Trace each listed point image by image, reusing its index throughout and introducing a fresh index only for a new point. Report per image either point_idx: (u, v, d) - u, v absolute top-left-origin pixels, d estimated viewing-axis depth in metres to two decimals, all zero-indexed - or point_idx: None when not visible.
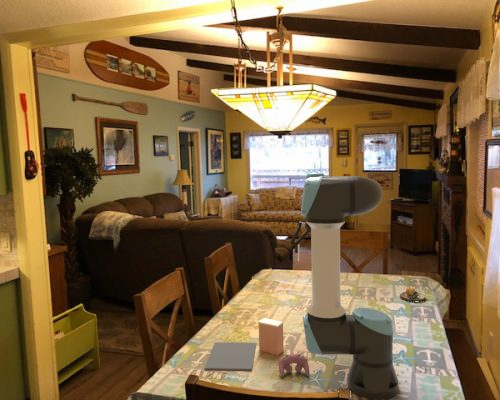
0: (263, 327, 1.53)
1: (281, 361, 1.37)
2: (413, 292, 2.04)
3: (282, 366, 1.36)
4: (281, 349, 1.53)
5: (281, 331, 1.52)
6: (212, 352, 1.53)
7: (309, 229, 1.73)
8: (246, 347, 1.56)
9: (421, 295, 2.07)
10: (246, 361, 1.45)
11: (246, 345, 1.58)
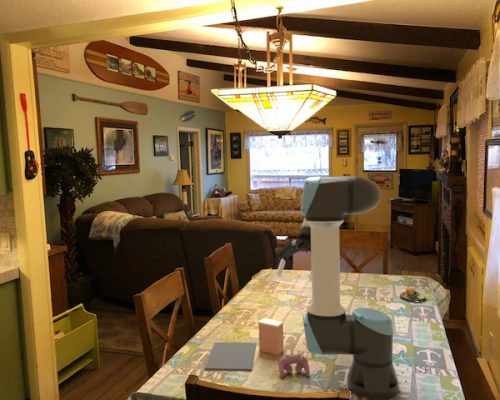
0: (263, 327, 1.53)
1: (281, 361, 1.37)
2: (413, 292, 2.04)
3: (282, 366, 1.36)
4: (281, 349, 1.53)
5: (281, 331, 1.52)
6: (212, 352, 1.53)
7: (297, 244, 1.65)
8: (246, 347, 1.56)
9: (421, 295, 2.07)
10: (246, 361, 1.45)
11: (246, 345, 1.58)
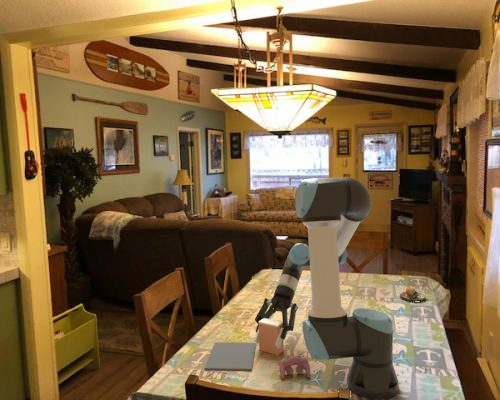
0: (263, 327, 1.53)
1: (282, 363, 1.36)
2: (413, 292, 2.04)
3: (283, 368, 1.35)
4: (281, 349, 1.53)
5: None
6: (212, 352, 1.53)
7: (273, 304, 1.59)
8: (246, 347, 1.56)
9: (421, 295, 2.07)
10: (246, 361, 1.45)
11: (246, 345, 1.58)
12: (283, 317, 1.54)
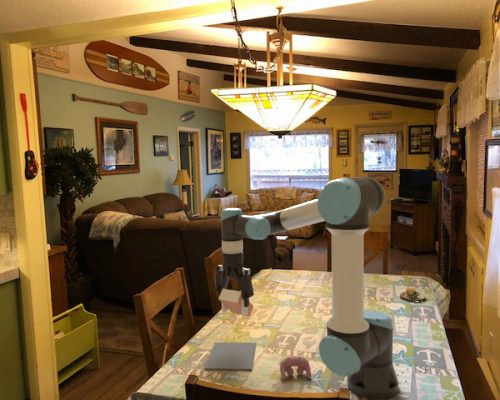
0: (225, 301, 1.50)
1: (282, 364, 1.35)
2: (413, 292, 2.04)
3: (283, 369, 1.34)
4: (250, 308, 1.53)
5: None
6: (212, 352, 1.53)
7: (226, 273, 1.50)
8: (246, 347, 1.56)
9: (421, 295, 2.07)
10: (246, 361, 1.45)
11: (246, 345, 1.58)
12: (240, 286, 1.47)
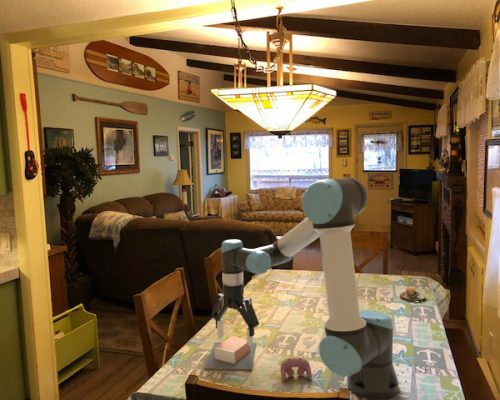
0: None
1: (283, 365, 1.35)
2: (413, 292, 2.04)
3: (284, 370, 1.34)
4: None
5: (238, 352, 1.46)
6: (212, 352, 1.53)
7: (225, 304, 1.51)
8: None
9: (421, 295, 2.07)
10: (246, 361, 1.45)
11: None
12: (243, 317, 1.48)
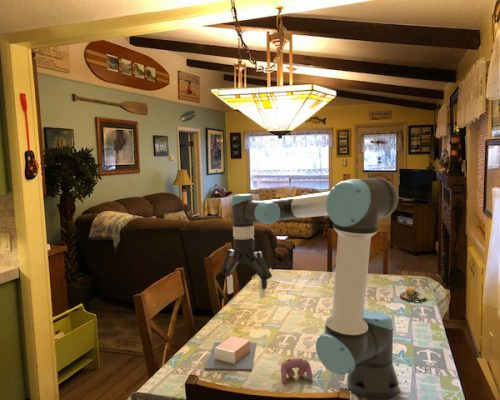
0: None
1: (283, 366, 1.34)
2: (413, 292, 2.04)
3: (284, 371, 1.33)
4: (248, 345, 1.52)
5: (238, 352, 1.46)
6: (212, 352, 1.53)
7: (236, 259, 1.50)
8: None
9: (421, 295, 2.07)
10: (246, 361, 1.45)
11: None
12: (255, 270, 1.47)
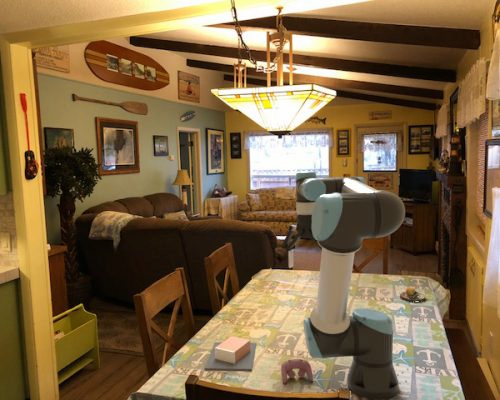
0: None
1: (284, 366, 1.34)
2: (413, 292, 2.04)
3: (285, 371, 1.33)
4: (248, 345, 1.52)
5: (238, 352, 1.46)
6: (212, 352, 1.53)
7: (299, 234, 1.56)
8: None
9: (421, 295, 2.07)
10: (246, 361, 1.45)
11: None
12: (318, 244, 1.53)
